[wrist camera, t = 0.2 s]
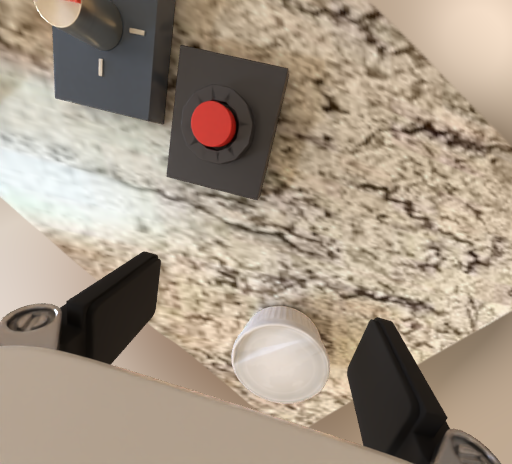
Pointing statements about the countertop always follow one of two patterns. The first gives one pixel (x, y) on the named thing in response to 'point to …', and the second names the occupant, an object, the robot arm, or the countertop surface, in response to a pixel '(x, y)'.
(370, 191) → the countertop surface
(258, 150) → the switch block
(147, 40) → the control panel
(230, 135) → the power button
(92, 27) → the dial
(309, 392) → the ramekin
